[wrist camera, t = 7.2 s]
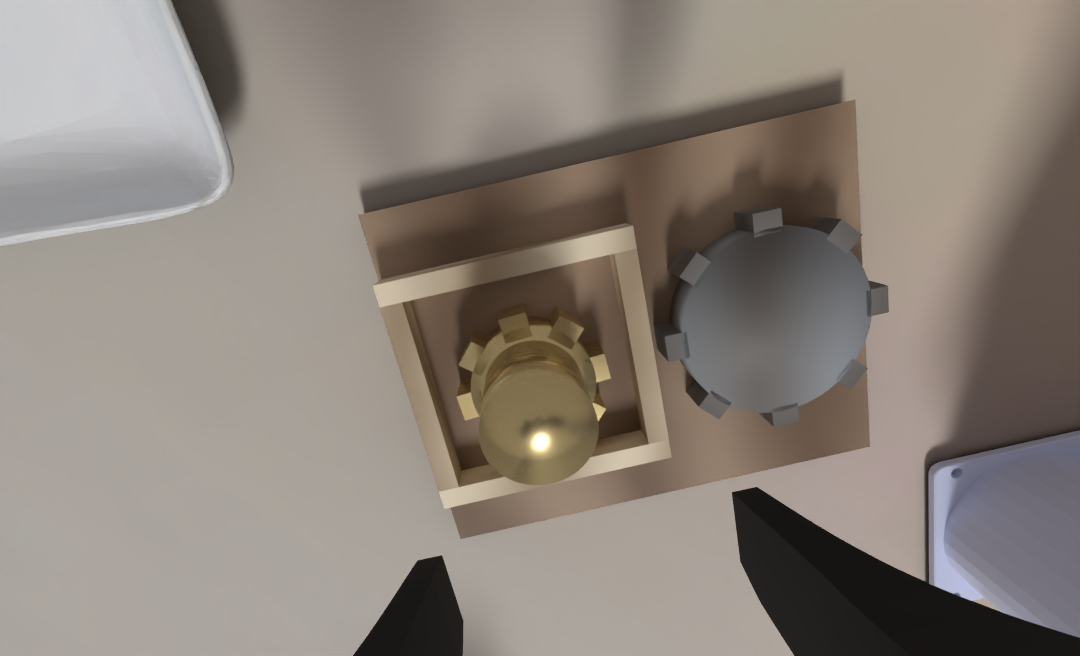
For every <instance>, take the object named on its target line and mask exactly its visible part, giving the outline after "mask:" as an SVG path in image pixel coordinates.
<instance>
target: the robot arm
mask: <svg viewBox="0 0 1080 656" xmlns="http://www.w3.org/2000/svg"><path fill="white" fill-rule="evenodd" d="M953 470H954V471H953ZM952 471H953V472H952ZM951 472H952V473H951ZM732 497H733V505H734V513H735V521H736V529H737V537H738V545H739V553H740V561H741V563H742V566H743V568H744V570H745V572H746V574H747V576H748V578H749V580H750V582H751V584H752V586H753V588H754V590H755V592H756V594H757V596H758V598H759V600H760V602H761V604H762V605H763V607H764V609H765V610H766V612H767V613H768V615H769V617H770V618H771V620H772V621H773V623H774V624H775V626H776V628H777V629H778V631H779V632H780V634H781V636H782V637H783V639H784V640H785V642H786V643H787V645H788V646H789V648H790V650H791V651H792V653H793V654H794V656H1080V430H1079V431H1074V432H1070V433H1065V434H1061V435H1057V436H1052V437H1048V438H1043V439H1039V440H1034V441H1030V442H1025V443H1021V444H1017V445H1012V446H1008V447H1003V448H999V449H994V450H990V451H986V452H981V453H977V454H972V455H968V456H963V457H959V458H955V459H950V460H946V461H941V462H938V463H935V464H934V465H933V466H931V468H930V470H929V583H927V582H925V581H922V580H920V579H918V578H916V577H914V576H911V575H909V574H907V573H905V572H903V571H900V570H898V569H896V568H894V567H892V566H890V565H888V564H886V563H884V562H882V561H880V560H878V559H876V558H874V557H873V556H871V555H869V554H867V553H865V552H863V551H861V550H859V549H857V548H856V547H854V546H852V545H850V544H848V543H847V542H845V541H843V540H841V539H839V538H838V537H836V536H834V535H833V534H831V533H829V532H827V531H826V530H824V529H822V528H821V527H819V526H817V525H816V524H814V523H813V522H811V521H809V520H808V519H806V518H804V517H803V516H801V515H800V514H798V513H796V512H795V511H793V510H792V509H790V508H789V507H787V506H786V505H784V504H782V503H781V502H779V501H778V500H776V499H775V498H773V497H772V496H770V495H768V494H767V493H765V492H764V491H762V490H761V489H759V488H757V487H755V488H750V489H746V490H741V491H736V492H732ZM982 598H986V599H987V600H988V601H989V602H990V603H991V604H993V605H994V606H995V607H996V608H997V609H998V610H999V611H1001V612H999V611H997V610H994V609H991V608H989V607H986V606H984V605H981V604H978V603H976V602H973V600H978V599H982ZM462 655H463V619H462V616H461V613H460V610H459V606H458V603H457V600H456V597H455V594H454V591H453V588H452V585H451V582H450V579H449V576H448V572H447V569H446V566H445V563H444V560H443V557H442V555H441V556H437V557H432V558H427V559H423V560H418V561H417V562H416V564H415V565H414V567H413V568H412V570H411V571H410V573H409V574H408V576H407V577H406V579H405V580H404V582H403V583H402V585H401V587H400V588H399V590H398V591H397V593H396V594H395V596H394V597H393V599H392V600H391V602H390V603H389V605H388V606H387V608H386V610H385V611H384V612H383V614H382V615H381V617H380V618H379V620H378V621H377V623H376V624H375V626H374V627H373V629H372V630H371V632H370V633H369V635H368V636H367V637H366V639H365V640H364V642H363V643H362V644H361V646H360V647H359V648H358V650H357V651H356V652H355V654H354V655H353V656H462Z"/></svg>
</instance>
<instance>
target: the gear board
mask: <svg viewBox="0 0 1080 656" xmlns="http://www.w3.org/2000/svg"><path fill="white" fill-rule="evenodd" d="M358 216H359V219H360V223H361V226H362V229H363V232H364V235H365V238H366V242H367V245H368V248H369V251H370V254H371V257H372V260H373V264H374V267H375V270H376V273H377V276H378V279H379V281H378V282H377V283H376V284H374V285H373V288H374V291H375V294H376V297H377V300H378V304H379V307H380V310H381V313H382V316H383V319H384V322H385V325H386V328H387V332H388V335H389V338H390V341H391V344H392V347H393V350H394V353H395V356H396V360H397V363H398V366H399V369H400V372H401V375H402V378H403V381H404V384H405V388H406V391H407V394H408V397H409V400H410V403H411V406H412V409H413V412H414V416H415V419H416V422H417V425H418V428H419V431H420V434H421V437H422V440H423V444H424V447H425V450H426V453H427V456H428V459H429V462H430V465H431V468H432V472H433V475H434V478H435V481H436V484H437V487H438V490H439V493H440V496H441V500H442V503H443V506H444V509H446V508H451V510H452V513H453V516H454V519H455V522H456V525H457V529H458V532H459V535H460V538H461V539H462V538H467V537H471V536H476V535H480V534H485V533H489V532H493V531H498V530H502V529H507V528H511V527H516V526H520V525H524V524H529V523H533V522H538V521H542V520H546V519H551V518H555V517H560V516H564V515H569V514H573V513H577V512H582V511H586V510H591V509H595V508H600V507H604V506H608V505H613V504H617V503H622V502H626V501H631V500H635V499H639V498H644V497H648V496H653V495H657V494H662V493H666V492H670V491H675V490H679V489H684V488H688V487H693V486H697V485H701V484H706V483H710V482H715V481H719V480H723V479H728V478H732V477H737V476H741V475H746V474H750V473H754V472H759V471H763V470H768V469H772V468H777V467H781V466H785V465H790V464H794V463H799V462H803V461H808V460H812V459H816V458H821V457H825V456H830V455H834V454H839V453H843V452H847V451H852V450H856V449H861V448H865V447H870V440H869V416H868V392H867V369H868V368H866V345H865V340H866V338H867V334H868V331H869V327H870V322H871V316H873V315H878V314H882V313H887V312H889V308H888V286H887V285H883V284H880V283H876V282H872V281H868V279H867V276H866V274H865V271H864V269H863V267H862V249H861V236H862V234H861V225H860V201H859V177H858V154H857V130H856V106H855V100H852V101H847V102H843V103H839V104H834V105H830V106H826V107H821V108H817V109H813V110H808V111H804V112H800V113H796V114H791V115H787V116H783V117H778V118H774V119H770V120H765V121H761V122H757V123H752V124H748V125H744V126H739V127H735V128H731V129H727V130H722V131H718V132H714V133H709V134H705V135H701V136H696V137H692V138H688V139H683V140H679V141H675V142H670V143H666V144H662V145H657V146H653V147H649V148H645V149H640V150H636V151H632V152H627V153H623V154H619V155H614V156H610V157H606V158H601V159H597V160H593V161H588V162H584V163H580V164H576V165H571V166H567V167H563V168H558V169H554V170H550V171H545V172H541V173H537V174H532V175H528V176H524V177H519V178H515V179H511V180H506V181H502V182H498V183H494V184H489V185H485V186H481V187H476V188H472V189H468V190H463V191H459V192H455V193H450V194H446V195H442V196H437V197H433V198H429V199H425V200H420V201H416V202H412V203H407V204H403V205H399V206H394V207H390V208H386V209H381V210H377V211H373V212H368V213H364V214H360V215H358ZM522 303H524V304H525V307H526V310H527V313H528V317H529V316H537V317H545V318H550V316H551V314H552V312H553V311H554V309H555V307H556V306H557V307H559V308H561V309H563V310H565V311H567V312H569V313H570V314H572V315H574V316H576V317H578V318H579V319H580V321H581V323H582V325H583V327H584V330H583V331H582V333H581V335H580V336H579V339H580V340H581V341H582V343H583V345H587V344H590V343H594V342H597V341H598V343H599V345H600V347H601V348H602V350H603V352H604V354H605V358H606V361H607V365H608V369H609V373H610V376H611V379H607V380H604V381H600V382H597V383H596V391H597V392H599V393H600V395H601V398H602V400H603V403H604V405H605V407H606V410H605V412H604V413H603V415H602V416H601V418H600V419H599V421H598V425H599V433H598V440H597V444H596V447H595V449H594V452H593V453H592V455H591V457H590V458H589V460H588V461H587V463H586V464H585V465H584V466H583V467H582V468H581V469H580V470H579V471H577V472H576V473H575V474H573V475H572V476H570V477H568V478H566V479H564V480H562V481H559V482H556V483H552V484H548V485H526V484H522V483H518V482H515V481H512V480H510V479H508V478H506V477H504V476H503V475H501V474H500V473H499V472H497V471H496V470H495V469H494V468H493V467H492V466H491V465H490V463H489V462H488V461H487V459H486V458H485V456H484V454H483V452H482V449H481V446H480V443H479V435H478V432H479V421H480V416H479V417H476V418H472V419H469V420H465V419H464V416H463V414H462V411H461V408H460V405H459V403H458V400H457V397H456V396H457V392H458V388H459V385H460V381H463V380H466V379H470V378H471V377H472V371H470V370H468V369H465V368H463V367H461V366H459V362H460V359H461V355H462V352H463V350H464V348H465V346H466V345H467V343H468V341H469V339H470V337H471V335H472V333H473V332H474V330H475V331H477V332H479V333H481V334H483V335H485V336H488V335H489V334H490V333H491V332H492V331H494V330H495V329H496V328H498V327H499V326H500V325H499V322H498V315H499V310H502V309H505V308H508V307H512V306H515V305H519V304H522Z"/></svg>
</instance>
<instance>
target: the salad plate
mask: <svg viewBox="0 0 1080 656" xmlns="http://www.w3.org/2000/svg"><path fill="white" fill-rule="evenodd" d="M233 176H234V164H233V158H232V154H231V151H230V148H229V145H228V142H227V140H226V137H225V134H224V131H223V129H222V126H221V123H220V120H219V118H218V115H217V112H216V109H215V107H214V104H213V102H212V99H211V97H210V94H209V92H208V89H207V87H206V84H205V82H204V79H203V77H202V74H201V72H200V69H199V67H198V64H197V62H196V59H195V57H194V54H193V52H192V49H191V47H190V44H189V42H188V39H187V37H186V34H185V32H184V29H183V27H182V24H181V22H180V20H179V17H178V15H177V13H176V10H175V8H174V5H173V3H172V1H171V0H0V246H2V245H9V244H15V243H20V242H25V241H31V240H36V239H41V238H48V237H54V236H60V235H66V234H73V233H79V232H85V231H91V230H97V229H103V228H110V227H116V226H122V225H129V224H135V223H141V222H148V221H152V220H157V219H162V218H166V217H170V216H174V215H178V214H182V213H186V212H189V211H192V210H195V209H199V208H202V207H204V206H206V205H209V204H211V203H213V202H215V201H216V200H218V199H220V198H221V197H222V196H223V195H224V194H225V193H226V192H227V191H228V190H229V188H230V186H231V184H232V180H233Z"/></svg>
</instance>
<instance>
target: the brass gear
mask: <svg viewBox="0 0 1080 656" xmlns="http://www.w3.org/2000/svg"><path fill="white" fill-rule="evenodd" d="M498 322H499V325H500V326H499V327H498V328H496V329H495V330H494V331H492V332H491V333H490V334H489V335H488V336H485V335H483V334H481V333H479V332H477V331H475V330H474V332H473V333H472V335H471V337H470V339H469V341H468V343H467V345H466V346H465V348H464V350H463V352H462V355H461V359H460V362H459V366H461V367H463V368H465V369H468V370H470V371H472V377H471V378H470V379H466V380H463V381H460V385H459V388H458V392H457V396H456V397H457V400H458V403H459V405H460V408H461V411H462V414H463V416H464V419H465V420H469V419H472V418H476V417H479V416H480V421H479V432H478V435H479V443H480V446H481V449H482V452H483V454H484V456H485V458H486V459H487V461H488V462H489V463H490V465H491V466H492V467H493V468H494V469H495V470H496V471H497V472H499V473H500V474H501V475H503V476H504V477H506V478H508V479H510V480H512V481H515V482H518V483H522V484H526V485H548V484H552V483H556V482H559V481H562V480H564V479H566V478H568V477H570V476H572V475H573V474H575V473H576V472H577V471H579V470H580V469H581V468H582V467H583V466H584V465H585V464H586V463H587V461H588V460H589V458H590V457H591V455H592V453H593V452H594V449H595V447H596V444H597V440H598V433H599V425H598V421H599V419H600V418H601V416H602V415H603V413H604V412H605V410H606V407H605V405H604V403H603V400H602V398H601V395H600V393H599V392H597V391H596V383H597V382H600V381H604V380H607V379H611V376H610V373H609V369H608V365H607V361H606V358H605V354H604V352H603V350H602V348H601V347H600V345H599V343H598V341H597V342H594V343H590V344H587V345H583V343H582V341H581V340H580V339H579V336H580V335H581V333H582V331H583V330H584V327H583V325H582V323H581V321H580V319H579V318H578V317H576V316H574V315H572V314H570V313H569V312H567V311H565V310H563V309H561V308H559V307H557V306H556V307H555V309H554V311H553V312H552V314H551V316H550V318H545V317H537V316H529V317H528V313H527V310H526V307H525V304H524V303H522V304H519V305H515V306H512V307H508V308H505V309H502V310H499V315H498Z"/></svg>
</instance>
